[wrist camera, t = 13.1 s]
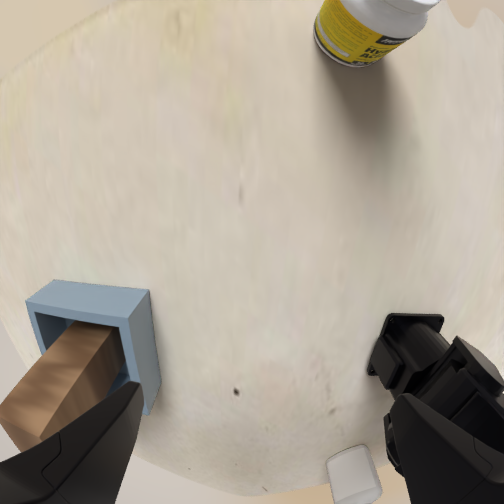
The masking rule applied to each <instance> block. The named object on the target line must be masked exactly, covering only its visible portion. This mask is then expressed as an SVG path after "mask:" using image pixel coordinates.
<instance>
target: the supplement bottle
mask: <svg viewBox="0 0 504 504" xmlns="http://www.w3.org/2000/svg"><path fill="white" fill-rule="evenodd" d="M439 2H440V0H325V1H324V3H323V5H322V7H321V9H320V11H319V13H318V15H317V17H316V19H315V22H314V27H313V31H314V36H315V39H316V42H317V43H318V45H319V47H320V48H321V49H322V50H323V51H324V52H325V53H326V54H327V55H328V56H329V57H330V58H332V59H333V60H335V61H337V62H339V63H341V64H343V65H346V66H351V67H364V66H368V65H371V64H373V63H375V62H376V61H378V60H379V59H381V58H382V57H383V56H385V55H386V54H388V53H389V52H391V51H392V50H394V49H395V48H397V47H398V46H400V45H401V44H403V43H404V42H406V41H407V40H409V39H410V38H412V37H413V36H415V35H416V34H417V33H418V32H420V31H421V30H422V29H423V28H424V26H425V24H426V22H427V17H428V12H427V11H429V10H430V9H431V8H432V7H434V6H435V5H436V4H438V3H439Z"/></svg>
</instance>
